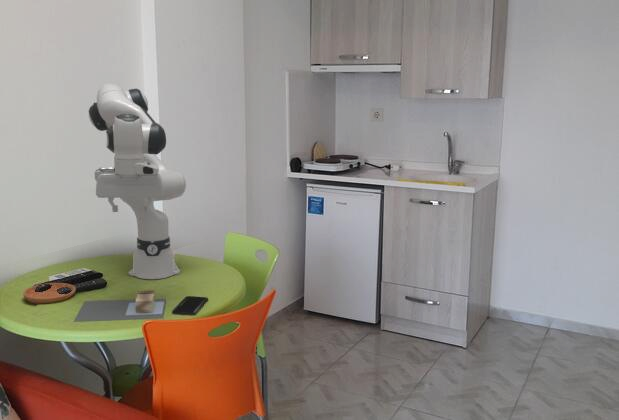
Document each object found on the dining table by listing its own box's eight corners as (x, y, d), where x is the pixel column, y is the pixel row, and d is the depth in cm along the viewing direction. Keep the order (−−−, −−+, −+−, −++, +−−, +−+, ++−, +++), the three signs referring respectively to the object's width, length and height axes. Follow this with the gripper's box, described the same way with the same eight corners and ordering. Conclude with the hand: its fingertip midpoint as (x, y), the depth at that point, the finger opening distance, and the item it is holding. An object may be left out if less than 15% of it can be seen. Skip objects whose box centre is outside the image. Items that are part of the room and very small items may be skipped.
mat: (84, 302, 199) (84, 300, 199) (166, 299, 204) (166, 297, 204) (73, 323, 182) (73, 321, 182) (163, 320, 186) (163, 318, 186)
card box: (135, 313, 189) (135, 300, 188) (138, 303, 198) (138, 291, 197) (152, 313, 190) (152, 300, 189) (154, 302, 199) (154, 290, 198)
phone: (208, 297, 205) (194, 313, 190) (208, 300, 205) (194, 316, 191) (186, 295, 206) (170, 311, 191) (186, 299, 206) (170, 315, 192)
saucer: (75, 288, 213) (74, 280, 213) (76, 303, 199) (76, 295, 198) (24, 293, 207) (24, 284, 207) (22, 309, 193) (22, 300, 192)
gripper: (92, 168, 184) (94, 213, 187) (162, 169, 188) (163, 213, 191) (96, 166, 190) (97, 209, 193) (163, 166, 194) (164, 209, 197)
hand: (130, 211), depth 192 cm, fingers open, 8 cm apart
